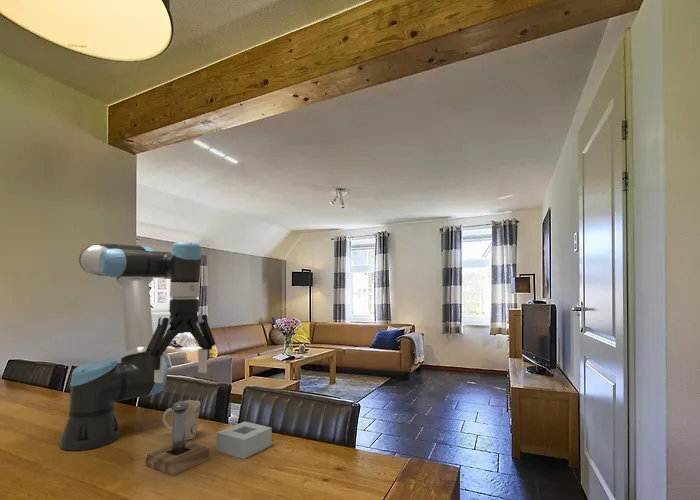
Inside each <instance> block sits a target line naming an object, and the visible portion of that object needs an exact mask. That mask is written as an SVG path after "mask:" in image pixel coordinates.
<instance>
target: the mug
mask: <svg viewBox="0 0 700 500" xmlns="http://www.w3.org/2000/svg"><path fill="white" fill-rule="evenodd" d="M180 402H187V403H189V408H188V409H186V436H185V441H189V440H192V439H194V438H195V437H196V435H197V428H198V423H199V418H200V417H199V416H200V409H201V402H200V400H191V399H190V400H181V401H178V402H175V403H180ZM175 403H173V404H175ZM170 413H171V414H172V415H171V417H173V413H174V410H172V407H170V408H167V409H166V410H165V411H164V412H163V415H162V423H163V425H164V427H166V429H167V430H169V431H173V426H171V425H170V424H169V423H168V421H167V418H168V417H167V416H168V415H169V414H170Z"/></svg>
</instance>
